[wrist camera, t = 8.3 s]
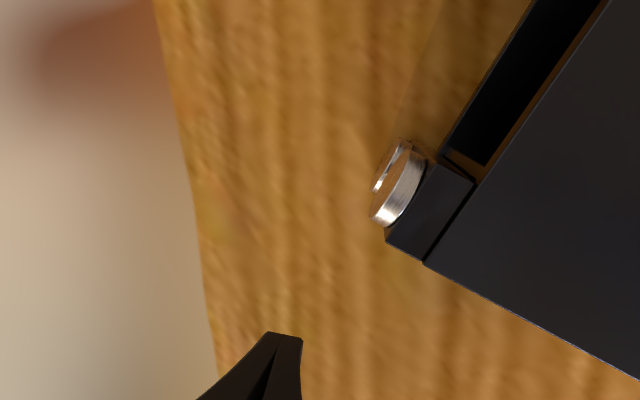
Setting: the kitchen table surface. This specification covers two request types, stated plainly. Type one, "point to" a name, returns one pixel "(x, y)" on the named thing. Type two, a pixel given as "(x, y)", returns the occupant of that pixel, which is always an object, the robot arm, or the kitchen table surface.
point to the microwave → (538, 181)
